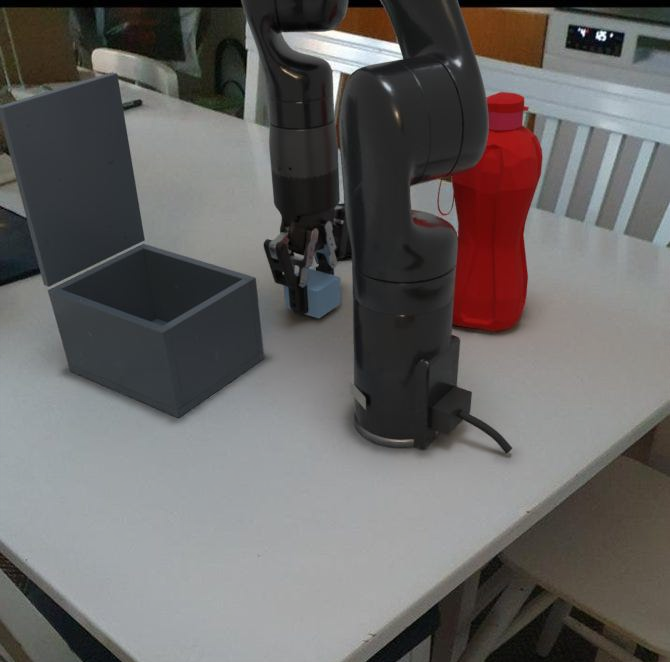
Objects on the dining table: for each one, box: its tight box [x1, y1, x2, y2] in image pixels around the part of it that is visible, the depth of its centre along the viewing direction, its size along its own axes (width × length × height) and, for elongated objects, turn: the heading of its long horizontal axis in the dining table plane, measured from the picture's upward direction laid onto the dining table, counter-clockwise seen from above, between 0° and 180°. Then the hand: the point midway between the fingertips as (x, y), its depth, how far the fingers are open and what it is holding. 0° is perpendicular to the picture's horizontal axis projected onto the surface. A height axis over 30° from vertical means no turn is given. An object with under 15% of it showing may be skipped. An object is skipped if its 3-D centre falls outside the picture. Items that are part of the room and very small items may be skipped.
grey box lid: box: [0, 72, 146, 288], centre depth 85 cm, size 18×14×5 cm
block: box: [283, 267, 342, 319], centre depth 99 cm, size 5×5×4 cm
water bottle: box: [436, 91, 544, 332], centre depth 91 cm, size 9×11×25 cm
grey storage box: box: [47, 243, 265, 419], centre depth 89 cm, size 17×14×10 cm
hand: (313, 303), depth 100 cm, fingers closed on block, 4 cm apart
